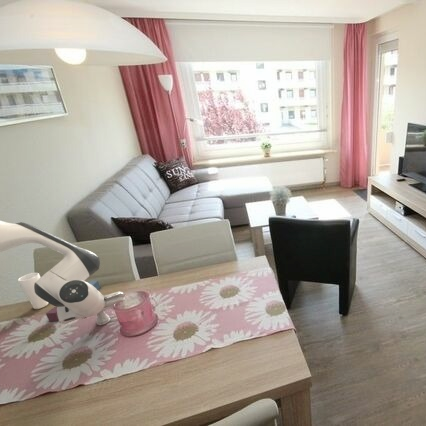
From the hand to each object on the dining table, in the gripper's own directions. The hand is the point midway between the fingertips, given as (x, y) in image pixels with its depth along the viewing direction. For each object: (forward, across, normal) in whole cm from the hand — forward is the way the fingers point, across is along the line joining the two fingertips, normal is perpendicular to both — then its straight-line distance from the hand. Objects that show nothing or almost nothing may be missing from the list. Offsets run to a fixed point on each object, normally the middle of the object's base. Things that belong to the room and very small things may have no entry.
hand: (99, 311), depth 114 cm
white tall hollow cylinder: (+27, +24, -18) cm, 41 cm away
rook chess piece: (+5, 0, +3) cm, 6 cm away
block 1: (+15, +16, -7) cm, 24 cm away
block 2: (+27, +6, -19) cm, 33 cm away
